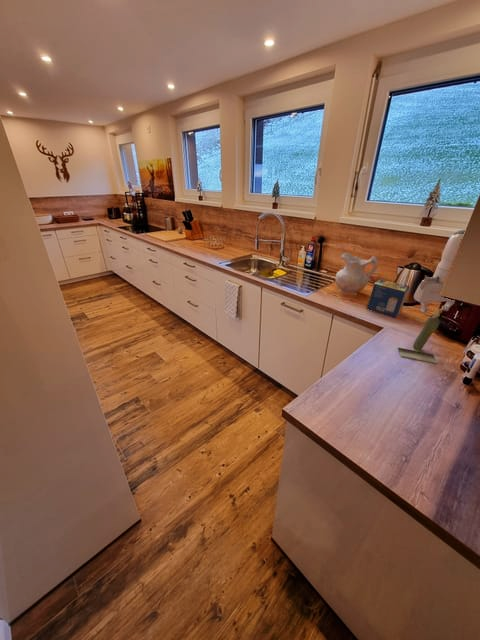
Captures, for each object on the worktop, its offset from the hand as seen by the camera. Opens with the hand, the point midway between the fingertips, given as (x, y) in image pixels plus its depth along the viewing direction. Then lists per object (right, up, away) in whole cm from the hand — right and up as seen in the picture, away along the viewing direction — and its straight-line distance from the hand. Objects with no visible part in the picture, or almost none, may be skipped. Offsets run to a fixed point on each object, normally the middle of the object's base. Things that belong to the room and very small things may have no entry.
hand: (433, 311), depth 101 cm
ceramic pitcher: (-4, +14, +68) cm, 70 cm away
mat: (-1, -17, +9) cm, 20 cm away
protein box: (+5, +1, +45) cm, 45 cm away
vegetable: (-1, -17, +9) cm, 19 cm away
